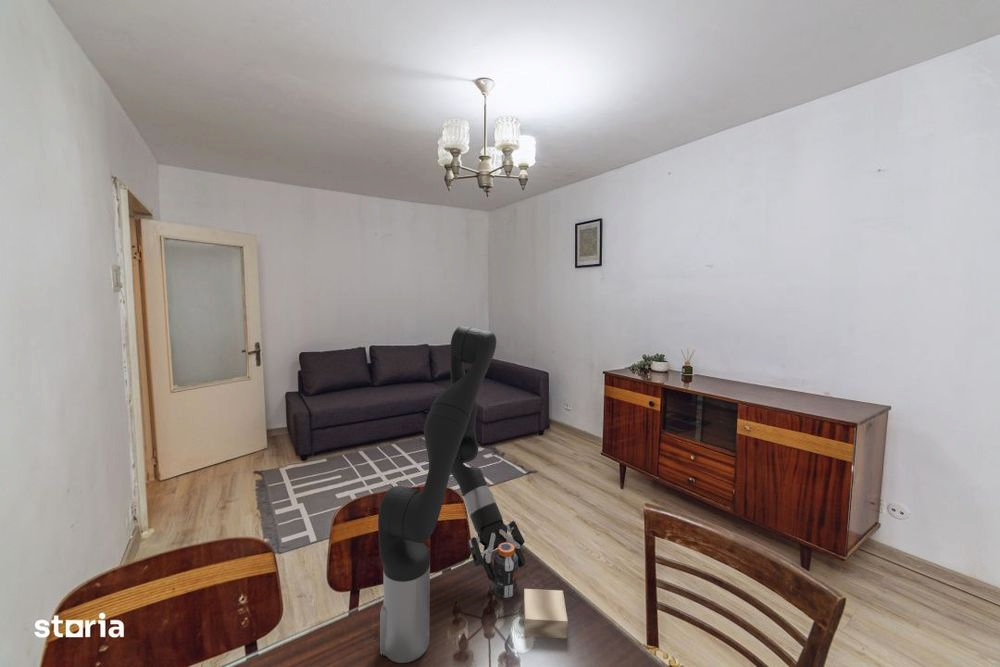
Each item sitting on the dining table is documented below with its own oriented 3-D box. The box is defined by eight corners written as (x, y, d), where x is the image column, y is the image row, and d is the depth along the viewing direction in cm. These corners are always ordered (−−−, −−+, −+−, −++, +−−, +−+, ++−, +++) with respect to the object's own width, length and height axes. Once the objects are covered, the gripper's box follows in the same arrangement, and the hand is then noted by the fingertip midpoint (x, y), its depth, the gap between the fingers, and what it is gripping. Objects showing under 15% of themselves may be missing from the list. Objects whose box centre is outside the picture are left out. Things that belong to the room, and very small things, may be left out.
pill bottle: (517, 599, 99) (518, 555, 98) (492, 598, 99) (493, 554, 98) (516, 581, 105) (518, 539, 104) (493, 580, 105) (494, 539, 104)
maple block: (524, 636, 89) (525, 618, 88) (523, 604, 98) (524, 588, 97) (566, 638, 88) (567, 621, 88) (562, 606, 97) (562, 590, 97)
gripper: (465, 511, 102) (492, 581, 94) (510, 494, 110) (538, 557, 103) (453, 522, 106) (478, 589, 99) (497, 505, 115) (523, 566, 107)
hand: (509, 573), depth 101 cm, fingers open, 8 cm apart
